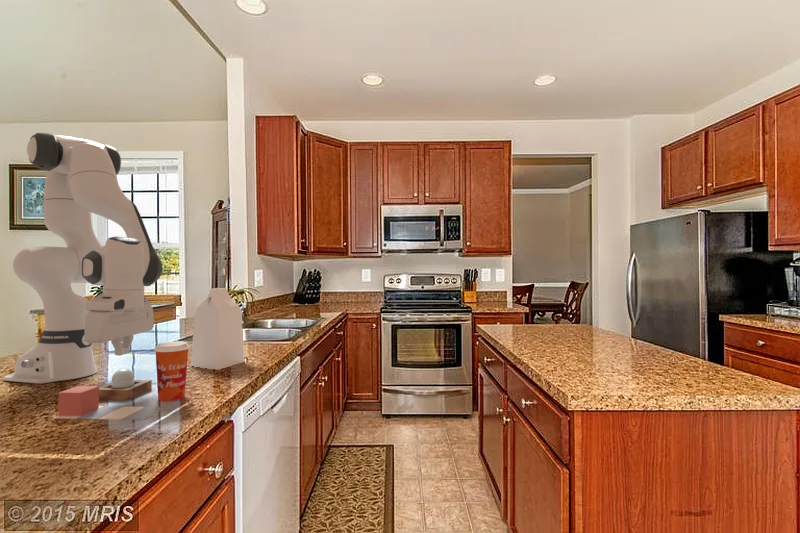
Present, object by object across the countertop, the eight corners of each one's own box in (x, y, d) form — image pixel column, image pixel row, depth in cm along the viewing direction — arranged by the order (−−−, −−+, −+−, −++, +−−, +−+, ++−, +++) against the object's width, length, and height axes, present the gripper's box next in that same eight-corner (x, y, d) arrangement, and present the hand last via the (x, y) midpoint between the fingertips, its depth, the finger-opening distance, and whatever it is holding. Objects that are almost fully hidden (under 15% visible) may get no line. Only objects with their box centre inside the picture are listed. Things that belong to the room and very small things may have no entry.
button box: (91, 401, 100) (91, 389, 100) (118, 391, 109) (118, 379, 109) (127, 402, 99) (127, 390, 99) (151, 391, 108) (151, 380, 108)
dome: (106, 396, 102) (106, 371, 102) (120, 391, 106) (120, 366, 106) (125, 397, 101) (125, 371, 101) (138, 391, 106) (138, 366, 106)
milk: (217, 359, 147) (218, 287, 147) (243, 362, 143) (244, 288, 144) (190, 366, 136) (191, 288, 136) (217, 369, 132) (218, 289, 132)
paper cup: (152, 406, 96) (153, 347, 96) (154, 397, 103) (155, 342, 103) (189, 402, 100) (190, 344, 100) (189, 393, 107) (190, 340, 107)
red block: (58, 415, 88) (58, 392, 89) (77, 407, 93) (77, 386, 94) (80, 416, 88) (81, 392, 88) (98, 408, 93) (98, 386, 93)
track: (52, 420, 87) (52, 418, 87) (82, 408, 95) (82, 405, 95) (143, 422, 86) (143, 419, 86) (166, 409, 94) (166, 407, 94)
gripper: (139, 296, 115) (137, 345, 115) (79, 303, 94) (77, 363, 94) (161, 297, 115) (159, 346, 115) (105, 304, 94) (104, 364, 94)
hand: (122, 354), depth 104 cm, fingers closed
